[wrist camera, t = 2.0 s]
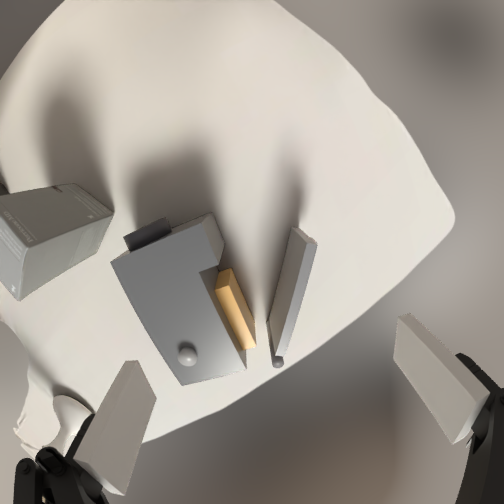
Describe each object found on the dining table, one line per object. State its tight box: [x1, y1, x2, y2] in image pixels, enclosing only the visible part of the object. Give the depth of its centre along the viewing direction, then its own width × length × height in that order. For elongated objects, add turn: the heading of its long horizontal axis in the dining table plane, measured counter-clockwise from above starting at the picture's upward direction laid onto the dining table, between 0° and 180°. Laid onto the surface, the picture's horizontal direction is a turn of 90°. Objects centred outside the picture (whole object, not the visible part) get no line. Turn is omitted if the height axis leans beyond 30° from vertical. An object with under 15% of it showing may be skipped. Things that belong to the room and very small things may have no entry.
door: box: [269, 227, 317, 357], centre depth 29 cm, size 12×2×8 cm, turn 169°
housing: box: [110, 212, 284, 386], centre depth 29 cm, size 18×12×9 cm, turn 21°
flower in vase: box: [42, 395, 92, 503], centre depth 28 cm, size 13×11×25 cm
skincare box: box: [0, 184, 114, 301], centre depth 23 cm, size 8×7×16 cm
